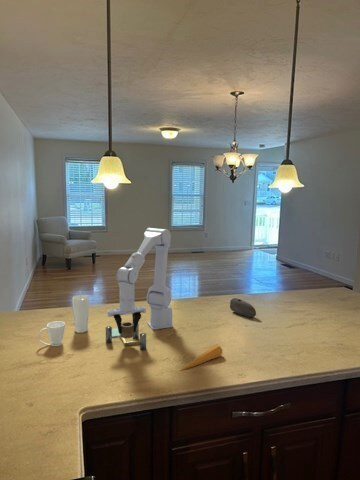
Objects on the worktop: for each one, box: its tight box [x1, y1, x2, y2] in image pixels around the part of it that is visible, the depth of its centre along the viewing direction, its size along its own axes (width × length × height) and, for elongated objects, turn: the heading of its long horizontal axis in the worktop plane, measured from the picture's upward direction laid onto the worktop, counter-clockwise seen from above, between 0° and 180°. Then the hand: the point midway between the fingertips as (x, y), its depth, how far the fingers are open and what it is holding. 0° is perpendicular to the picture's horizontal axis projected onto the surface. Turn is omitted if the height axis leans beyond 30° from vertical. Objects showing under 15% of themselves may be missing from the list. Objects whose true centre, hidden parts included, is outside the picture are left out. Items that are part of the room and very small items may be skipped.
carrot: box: [179, 344, 223, 372], centre depth 127 cm, size 20×4×4 cm, turn 130°
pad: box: [112, 327, 120, 339], centre depth 152 cm, size 8×8×1 cm
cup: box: [38, 320, 66, 347], centre depth 139 cm, size 7×10×8 cm
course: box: [105, 323, 147, 351], centre depth 140 cm, size 14×15×6 cm
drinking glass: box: [71, 294, 90, 334], centre depth 152 cm, size 7×7×15 cm
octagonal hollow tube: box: [120, 321, 134, 339], centre depth 139 cm, size 5×5×4 cm
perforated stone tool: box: [229, 297, 257, 318], centre depth 176 cm, size 15×5×7 cm, turn 39°
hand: (127, 332), depth 139 cm, fingers closed on octagonal hollow tube, 5 cm apart
